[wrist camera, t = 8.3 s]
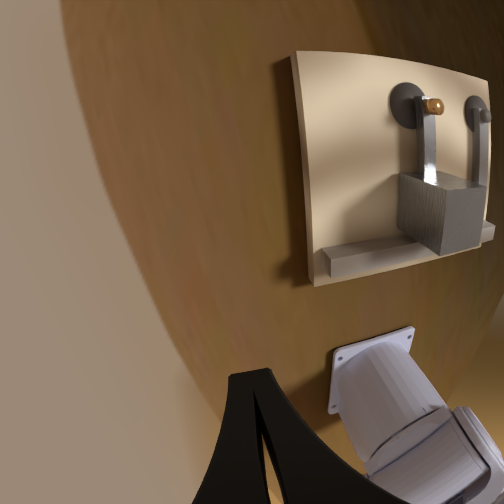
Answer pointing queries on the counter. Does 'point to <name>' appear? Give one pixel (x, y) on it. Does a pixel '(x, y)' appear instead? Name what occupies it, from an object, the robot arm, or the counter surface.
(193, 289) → the counter surface
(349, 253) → the bolt board
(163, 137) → the counter surface
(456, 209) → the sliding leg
